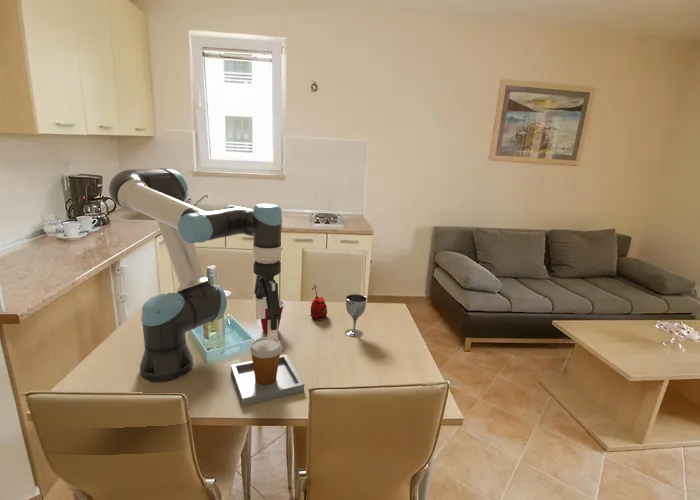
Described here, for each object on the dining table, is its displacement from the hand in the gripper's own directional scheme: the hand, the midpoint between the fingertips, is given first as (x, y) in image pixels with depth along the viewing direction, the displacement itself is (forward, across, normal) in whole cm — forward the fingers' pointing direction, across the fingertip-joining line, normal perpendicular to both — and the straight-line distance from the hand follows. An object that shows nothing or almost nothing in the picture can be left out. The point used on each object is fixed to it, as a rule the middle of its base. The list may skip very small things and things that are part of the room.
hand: (266, 328), depth 113 cm
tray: (+18, 0, 0) cm, 18 cm away
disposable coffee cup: (+17, 0, 0) cm, 17 cm away
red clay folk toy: (+18, +37, -32) cm, 52 cm away
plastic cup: (+18, +32, -10) cm, 38 cm away
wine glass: (+18, +19, -40) cm, 48 cm away
